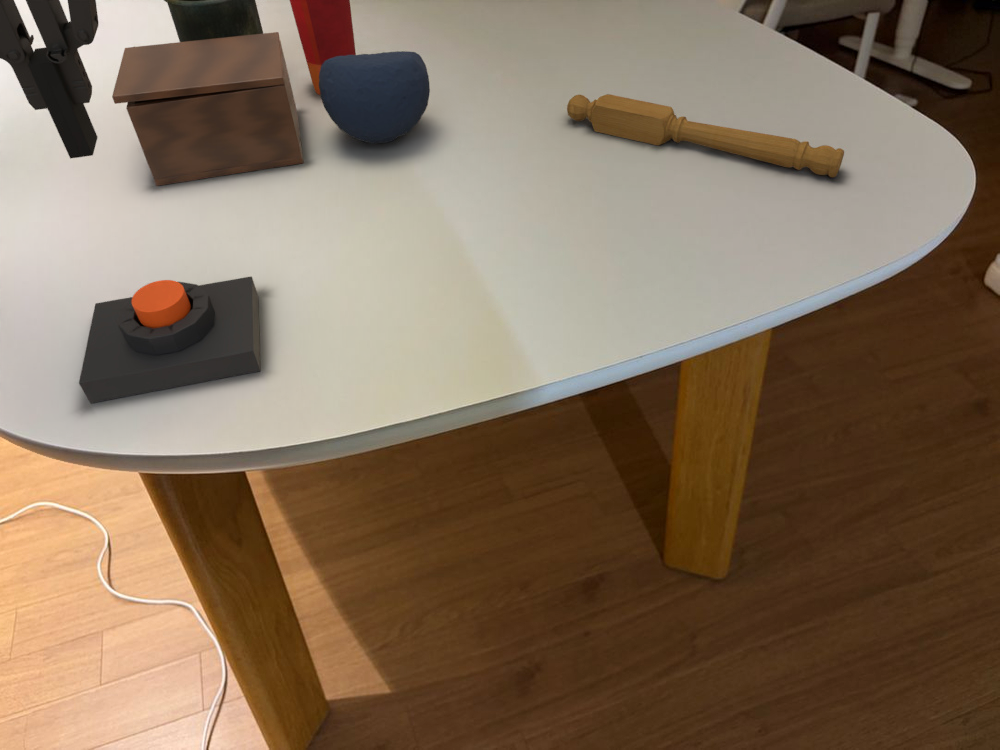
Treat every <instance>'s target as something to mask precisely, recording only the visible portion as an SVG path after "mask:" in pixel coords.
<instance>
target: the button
mask: <svg viewBox="0 0 1000 750" xmlns="http://www.w3.org/2000/svg"><path fill="white" fill-rule="evenodd" d="M179 282H180V281H176V280H171V279H163V280H161V279H160V280H156V281H152V282H150V283H147V284H145V285H143V286H142V287H140V288H139V289H138V290H137V291H135V293H134V294H133V296H131V297H132V306H133V308H134V310H135V312H136V314H137V316H138V319H139V321H140V323H141V324H142V325H144V326H145V327H149V328H159V327H164V326H170V325H172V324H174V323H176V322H177V321H179V320H181V319H183V318H185V317H186V316H187V314H188V313H189V312H190V309H191V305H190V302H189V300H188V297H187V295H186V292H185V290H184V287H183V286H182V285H181V284H180V283H179Z"/></svg>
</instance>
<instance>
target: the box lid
mask: <svg viewBox="0 0 1000 750" xmlns="http://www.w3.org/2000/svg"><path fill="white" fill-rule="evenodd" d="M280 41H281V36H280V33H279V31H274V32H263V34H254V35H244V36H235V37H225V38H216V39H206V40H196V41H187V42H180V41H177V42H169V43H160V44H150V45H149V44H148V45H140V46H139V45H138V46H130V47H129V46H128V47H125V48H124V50H123V54H122V57H121V61H120V65H119V68H118V73H117V75H116V76H117V77H116V80H115V84H114V87H113V88H114V89H113V92H112V94H111V97H112V101H113V103H114V104H124V103H126V104H127V103H128V102H134V101H143V100H152V99H161V98H169V97H178V96H187V95H196V94H204V93H213V92H222V91H231V90H239V89H248V88H257V87H266V86H275V85H283V84H284V74H283V65H282V55H281V45H282V44H281V45H280Z"/></svg>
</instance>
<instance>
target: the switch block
mask: <svg viewBox="0 0 1000 750" xmlns="http://www.w3.org/2000/svg"><path fill="white" fill-rule="evenodd" d="M178 282H179V283H180V284H181V285H182V286H183V287H184V290H185V292H186V295H187V297H188V300H189V302H190V305H191V309H190V312H189V313H188V314H187V316H186V317H185V318H183V319H181V320H179V321H177V322H176V323H174V324H172V325H170V326H164V327H159V328H149V327H145V326H144V325H142V324H141V323H140V321H139V319H138V316H137V314H136V312H135V310H134V308H133V306H132V297H133V296H129V297H124V298H118V299H113V300H108V301H101V302H96V303H95V304H94V309H93V313H92V318H91V323H90V326H89V327H90V328H89V333H88V337H87V343H86V347H85V352H84V355H83V356H84V357H83V362H82V366H81V370H80V376H79V380H78V384H79V386H80V388H81V389H82V391H83V393H84V395H85V397H86V398H87V400H88V402H89V403H90V404H94V403H99V402H105V401H110V400H115V399H120V398H125V397H130V396H135V395H136V396H137V395H141V394H146V393H147V394H148V393H151V392H157V391H162V390H167V389H173V388H177V387H178V388H179V387H184V386H188V385H195V384H199V383H204V382H210V381H215V380H220V379H225V378H231V377H236V376H241V375H247V374H251V373H257V372H261V348H260V347H261V345H260V314H259V313H260V311H259V294H258V291H257V287H256V285H255V282H254V279H253V276H245V277H240V278H235V279H229V280H222V281H217V282H211V283H205V284H200V285H199V284H196V283H189V282H183V281H178Z"/></svg>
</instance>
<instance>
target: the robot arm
mask: <svg viewBox="0 0 1000 750" xmlns="http://www.w3.org/2000/svg"><path fill="white" fill-rule="evenodd" d="M25 2H26V4H27V8H28V9H29V11H30V14H31V16H32V18H33V21H34V22H35V25H36V28H37V29H38V32H39V34H40V37H41V39H42V42H43V44H44V45H45V46H44V47H39V48H35V49H33V47H32V45H33V43H34V40H35V37H34V34H31V35H30V33H29V31H28V29H27V27H26V24H25V22H24V20H23V18H22V15H21V13H20V11H19V8H18V5H17V4H16V2H15V0H0V60H3V61H5V62H6V63H8V64H9V66H10V67H11V68H12V70H13V73H14V75H15V77H16V79H17V81H18V83H19V85H20V87H21V89H22V91H23V94H24V96H25V98H26V100H27V103H28V104H29V106H31V107H32V108H33V109H34V110H35V111H38V110H47V111H48V113H49V115H50V117H51V119H52V122H53V124H54V126H55V128H56V130H57V133H58V135H59V137H60V139H61V141H62V144H63V146H64V149H65V150H66V153H67V155H68V157H69V159H70V160H71V159H77V158H78V159H79V158H85V157H91V156H94V153H95V148H96V146H97V141H98V134H97V132H96V130H95V128H94V125H93V123H92V120H91V118H90V116H89V113H88V111H87V108H86V106H85V104H89V103H90V101H91V98H92V95H93V85H92V83H91V80H90V78H89V75H88V72H87V70H86V67H85V65H84V62H83V60H82V58H81V55H80V52H79V48H81V47H83V46H88V45H90V44H92V43H93V42H94V41H95V37H96V34H97V31H98V28H99V15H98V8H97V0H67V7H68V12H69V20H70V21H68V18H67V16H66V12H65V11H64V8H63V6H62V5H63V4H62V3H61V1H60V0H25Z"/></svg>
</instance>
